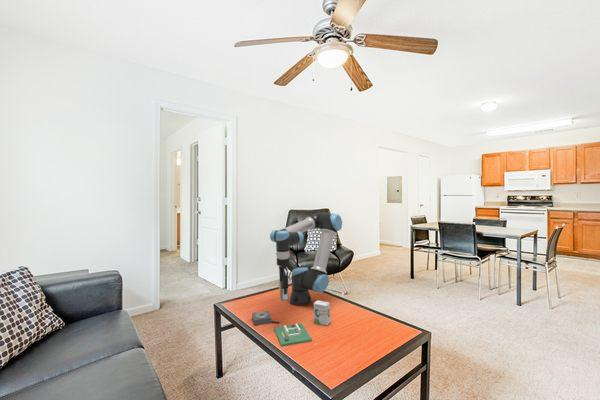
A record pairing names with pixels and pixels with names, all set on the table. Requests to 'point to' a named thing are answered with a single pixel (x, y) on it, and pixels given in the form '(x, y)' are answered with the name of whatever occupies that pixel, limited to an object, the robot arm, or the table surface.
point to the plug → (281, 290)
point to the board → (292, 334)
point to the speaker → (261, 318)
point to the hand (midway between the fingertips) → (284, 297)
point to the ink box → (322, 312)
